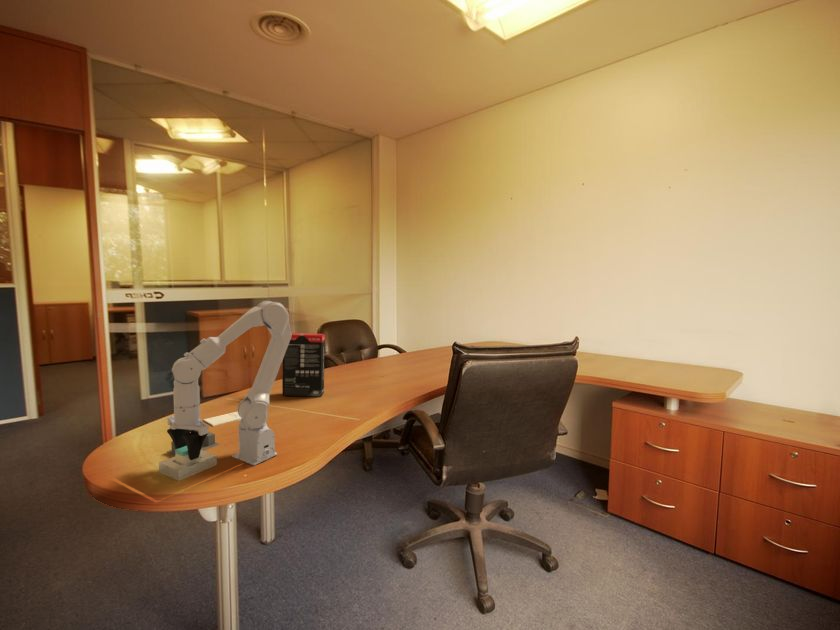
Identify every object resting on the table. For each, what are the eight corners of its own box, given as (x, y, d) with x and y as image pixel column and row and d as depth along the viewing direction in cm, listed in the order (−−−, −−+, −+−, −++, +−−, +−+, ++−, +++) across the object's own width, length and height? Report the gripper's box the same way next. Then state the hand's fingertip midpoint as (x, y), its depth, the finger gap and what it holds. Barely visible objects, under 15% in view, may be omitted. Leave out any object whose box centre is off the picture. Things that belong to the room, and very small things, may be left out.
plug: (200, 468, 101) (200, 446, 101) (183, 475, 97) (182, 452, 97) (193, 465, 103) (192, 443, 102) (175, 472, 99) (175, 449, 98)
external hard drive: (202, 423, 134) (238, 414, 144) (212, 429, 129) (249, 419, 139) (202, 419, 134) (238, 410, 144) (212, 424, 129) (248, 415, 139)
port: (217, 466, 103) (216, 455, 102) (178, 482, 94) (178, 470, 94) (197, 458, 107) (197, 448, 106) (159, 473, 98) (158, 462, 98)
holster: (220, 445, 115) (220, 434, 115) (182, 459, 106) (182, 447, 105) (203, 440, 119) (203, 429, 119) (166, 453, 110) (165, 441, 109)
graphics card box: (325, 393, 173) (325, 332, 171) (322, 397, 166) (322, 334, 164) (286, 392, 172) (285, 332, 170) (281, 397, 165) (281, 334, 163)
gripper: (154, 404, 99) (156, 455, 100) (188, 414, 92) (189, 469, 93) (182, 397, 105) (183, 445, 106) (215, 406, 98) (217, 458, 99)
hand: (188, 456), depth 100 cm, fingers open, 5 cm apart
